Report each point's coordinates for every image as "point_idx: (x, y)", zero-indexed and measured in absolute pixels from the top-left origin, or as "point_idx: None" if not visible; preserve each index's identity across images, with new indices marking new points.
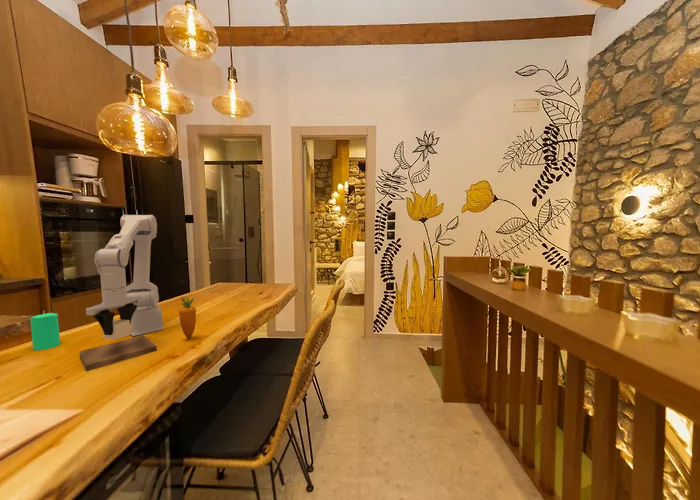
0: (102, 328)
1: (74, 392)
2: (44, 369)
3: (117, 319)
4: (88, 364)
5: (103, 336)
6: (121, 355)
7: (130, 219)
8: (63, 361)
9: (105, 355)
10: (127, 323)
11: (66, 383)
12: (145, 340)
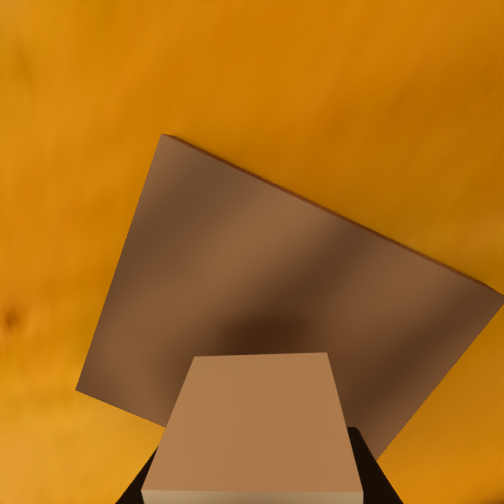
0: (129, 491)
1: (4, 477)
2: (4, 139)
3: (357, 498)
4: (86, 390)
5: (188, 376)
6: None
7: None
8: (95, 119)
9: (178, 369)
10: None
11: (11, 398)
12: (408, 390)
